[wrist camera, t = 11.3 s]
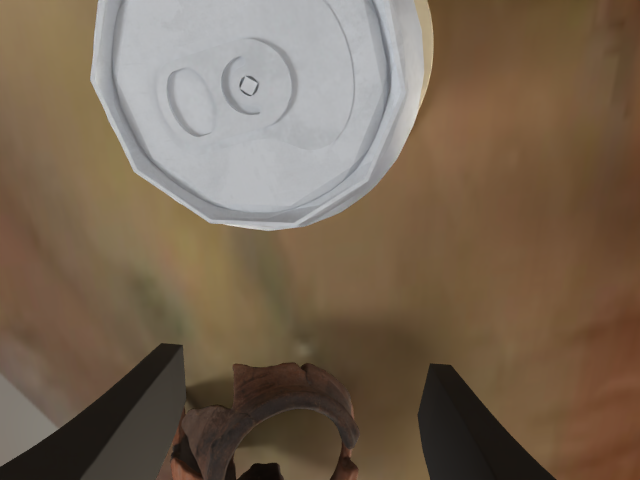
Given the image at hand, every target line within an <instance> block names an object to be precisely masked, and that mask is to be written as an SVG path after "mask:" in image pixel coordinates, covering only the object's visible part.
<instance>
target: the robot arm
mask: <svg viewBox="0 0 640 480" xmlns="http://www.w3.org/2000/svg"><path fill="white" fill-rule="evenodd" d="M185 401H186V385H185V371H184V357H183V345H177V344H164V343H161V344H160V345H159V346H158V347H156V348H155V349H154V350H153V351H152V352H151V353H150V354H149V355H148V356H146V357H145V358H144V359H143V360H142V361H141V362H140V363H139V364H138V365H137V366H135V367H134V368H133V369H132V370H131V371H130V372H129V373H128V374H127V375H125V376H124V377H123V378H122V379H121V380H120V381H119V382H117V383H116V384H115V385H114V386H113V387H112V388H110V389H109V390H108V391H107V392H106V393H105V394H103V395H102V396H101V397H100V398H99V399H97V400H96V401H95V402H94V403H92V404H91V405H90V406H88V407H87V408H86V409H85V410H83V411H82V412H81V413H80V414H78V415H77V416H76V417H75V418H73V419H72V420H71V421H69V422H68V423H67V424H65V425H64V426H62V427H61V428H60V429H58V430H57V431H56V432H54V433H53V434H51V435H50V436H48V437H47V438H45V439H44V440H42V441H41V442H40V443H38V444H37V445H35V446H33V447H32V448H30V449H29V450H27V451H26V452H24V453H22V454H21V455H19V456H17V457H16V458H14V459H12V460H11V461H9V462H8V463H6V464H4V465H3V466H1V467H0V480H156V478H157V475H158V473H159V471H160V468H161V466H162V464H163V462H164V459H165V457H166V455H167V452H168V450H169V448H170V445H171V443H172V441H173V438H174V436H175V434H176V431H177V428H178V425H179V421H180V418H181V415H182V412H183V408H184V405H185ZM418 421H419V429H420V436H421V442H422V448H423V453H424V457H425V461H426V464H427V468H428V472H429V476H430V480H556V479H555V478H554V477H553V476H552V475H551V474H550V473H549V472H547V471H546V470H545V469H544V468H543V467H542V466H541V465H540V464H539V463H538V462H537V461H536V460H535V459H534V458H533V457H532V456H531V455H530V454H529V453H528V452H527V451H526V450H525V449H524V448H523V447H522V446H521V445H520V444H519V443H518V442H517V441H516V440H515V439H514V438H513V437H512V436H511V435H510V434H509V433H508V432H507V431H506V429H505V428H504V427H503V426H502V425H501V424H500V423H499V422H498V421H497V419H496V418H495V417H494V416H493V415H492V414H491V413H490V411H489V410H488V409H487V408H486V407H485V406H484V404H483V403H482V402H481V401H480V400H479V398H478V397H477V396H476V395H475V394H474V392H473V391H472V390H471V389H470V388H469V386H468V385H467V384H466V383H465V381H464V380H463V379H462V378H461V377H460V375H459V374H458V373H457V372H456V371H455V369H454V368H453V367H452V366H451V365H444V364H431V363H430V366H429V370H428V374H427V378H426V383H425V387H424V391H423V395H422V399H421V403H420V407H419V412H418Z"/></svg>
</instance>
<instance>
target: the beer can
mask: <svg viewBox="0 0 640 480" xmlns="http://www.w3.org/2000/svg"><path fill="white" fill-rule="evenodd" d="M93 50H94V53H93V61H92V69H91V77H90V81H91V83H92V85H93V87H94V89H95V91H96V93H97V95H98V97H99V100H100V102H101V104H102V106H103V108H104V110H105V112H106V115H107V118H108V120H109V122H110V124H111V126H112V128H113V130H114V131H115V133H116V135H117V137H118V139H119V141H120V143H121V145H122V148H123V150H124V152H125V154H126V156H127V158H128V160H129V162H130V164H131V166H132V168H133V171H134V172H135V173H137V174H138V175H140V176H141V177H142V178H144V179H145V180H147V181H148V182H150V183H151V184H153V185H154V186H156V187H157V188H159V189H160V190H162V191H163V192H165V193H166V194H167V195H169V196H170V197H171V198H173V199H174V200H176V201H177V202H178V203H180V204H182V205H184V206H185V207H187V208H188V209H190V210H191V211H193V212H194V213H196V214H197V215H199V216H200V217H202V218H203V219H205V220H206V221H208V222H209V223H215V224H225V225H229V226H236V227H243V228H250V229H258V230H266V231H272V230H280V229H288V228H296V227H304V226H307V225H310V224H313V223H315V222H318V221H320V220H323V219H325V218H328V217H331V216H333V215H336V214H338V213H340V212H342V211H344V210H345V209H346V208H348V207H349V206H351V205H352V204H354V203H355V202H357V201H358V200H359V199H361V198H362V197H363V196H364V195H366V194H367V193H368V192H369V191H370V190H372V189H373V188H374V187H375V186H376V185H377V184H378V182H379V181H380V180H381V179H382V178H383V176H384V175H385V174H386V172H387V171H388V170H389V169H390V167H391V166H392V165H393V164H394V162H395V161H396V160H397V158H398V156H399V154H400V152H401V150H402V148H403V146H404V144H405V142H406V140H407V137H408V135H409V133H410V131H411V129H412V127H413V125H414V122H415V119H416V116H417V113H418V108H419V101H420V95H421V89H422V84H423V77H424V57H423V41H422V29H421V26H420V22H419V18H418V15H417V11H416V7H415V3H414V0H98V7H97V15H96V24H95V33H94V45H93Z"/></svg>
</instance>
